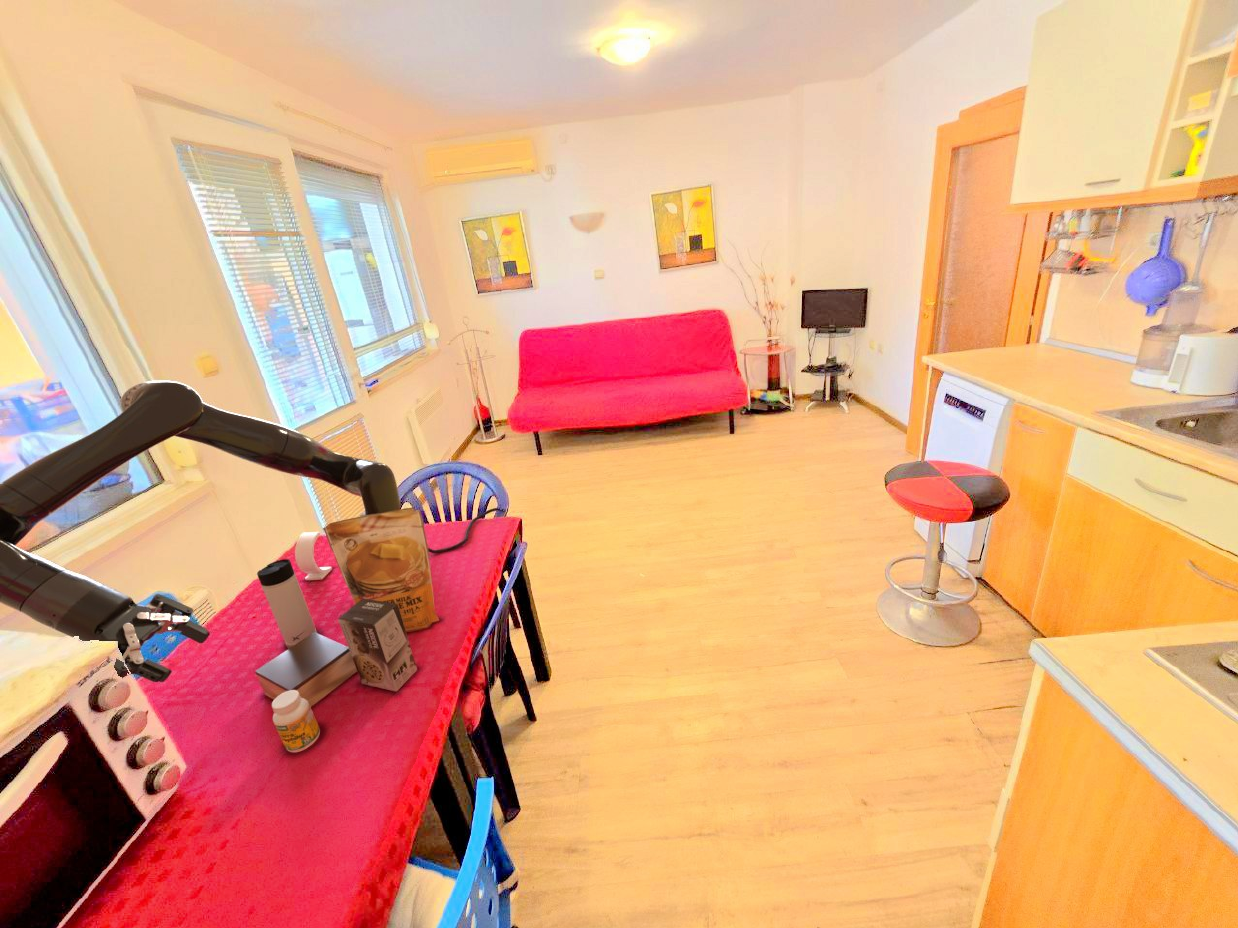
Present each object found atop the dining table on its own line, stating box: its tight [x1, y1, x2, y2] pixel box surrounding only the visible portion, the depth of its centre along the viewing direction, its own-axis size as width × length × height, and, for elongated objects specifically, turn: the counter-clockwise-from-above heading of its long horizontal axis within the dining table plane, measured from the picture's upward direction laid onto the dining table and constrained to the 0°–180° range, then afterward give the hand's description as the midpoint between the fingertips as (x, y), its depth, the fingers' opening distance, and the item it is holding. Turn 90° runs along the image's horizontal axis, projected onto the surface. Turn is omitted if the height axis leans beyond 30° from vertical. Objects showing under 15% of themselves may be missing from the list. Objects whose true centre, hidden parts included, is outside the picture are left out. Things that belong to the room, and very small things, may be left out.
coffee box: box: [337, 599, 418, 692], centre depth 98 cm, size 9×6×16 cm
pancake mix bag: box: [322, 507, 440, 633], centre depth 110 cm, size 7×19×28 cm, turn 102°
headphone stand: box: [294, 531, 333, 581], centre depth 137 cm, size 5×6×12 cm
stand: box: [254, 632, 358, 708], centre depth 100 cm, size 12×12×6 cm
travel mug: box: [256, 558, 318, 649], centre depth 110 cm, size 6×7×20 cm
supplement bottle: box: [271, 690, 321, 754], centre depth 86 cm, size 5×5×10 cm
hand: (188, 656), depth 80 cm, fingers open, 8 cm apart
